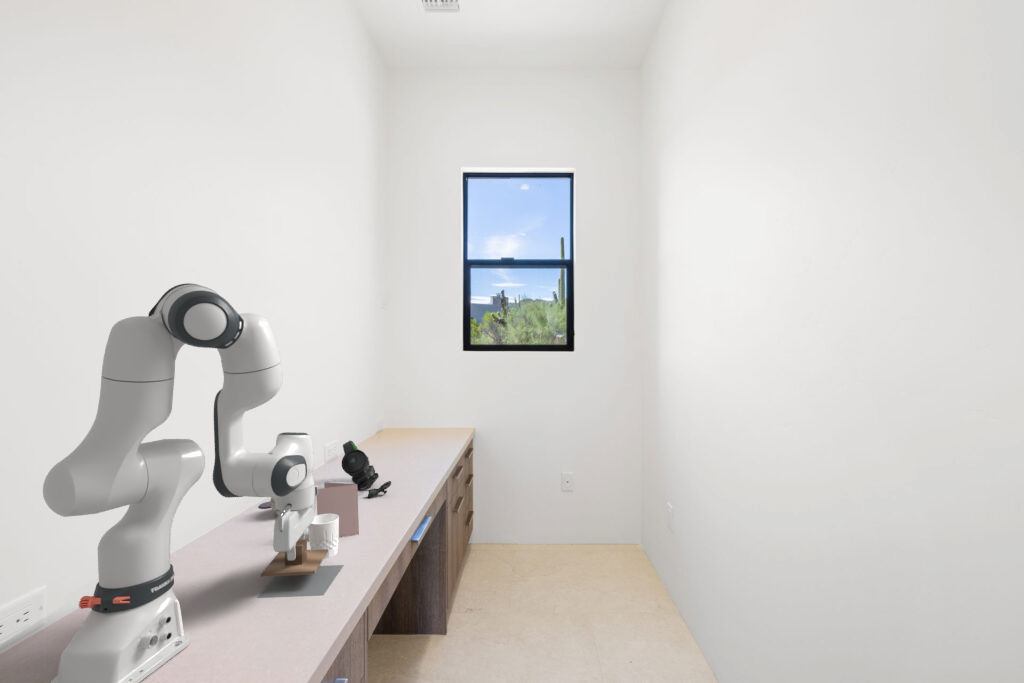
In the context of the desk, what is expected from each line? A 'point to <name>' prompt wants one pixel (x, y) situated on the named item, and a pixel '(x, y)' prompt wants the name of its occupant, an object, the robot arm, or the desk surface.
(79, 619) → the desk surface
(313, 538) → the white cup
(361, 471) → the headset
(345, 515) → the greeting card
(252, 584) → the desk surface
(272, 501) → the fossil replica
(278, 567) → the walnut lid
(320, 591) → the rubber mat
